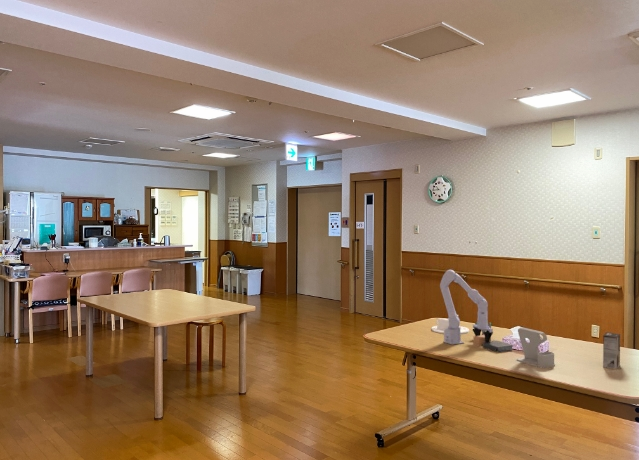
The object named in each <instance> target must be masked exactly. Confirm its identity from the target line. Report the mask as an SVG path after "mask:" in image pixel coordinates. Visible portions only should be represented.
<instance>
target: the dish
mask: <svg viewBox="0 0 639 460" xmlns="http://www.w3.org/2000/svg"><path fill="white" fill-rule="evenodd" d="M457 316H458V317H459V314H457ZM448 326H449V317H448V318H441V317H440V318H436V325H433V326H432V327H431V331H433V332H434V333H438V334H443V335H444V331H445V329H448ZM459 326H460V325H459ZM460 327H461V335H464V334H468V333H470V329H469V327H466V326H462V325H461V326H460Z"/></svg>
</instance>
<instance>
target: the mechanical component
mask: <svg viewBox="0 0 639 460" xmlns="http://www.w3.org/2000/svg"><path fill="white" fill-rule="evenodd" d="M474 324H476V325H478V321H476V322H475V323H474ZM488 326H489V328H492V326H493V323H492V322H488ZM481 332H482V333H481V334H482V335H484V333H483V332H486V331H485V330H481Z"/></svg>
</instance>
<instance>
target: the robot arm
mask: <svg viewBox="0 0 639 460" xmlns="http://www.w3.org/2000/svg"><path fill="white" fill-rule="evenodd" d="M452 282H453V283H456V284H458V285H459V286H460V287H461V288H463V290H465V291H466V293H467V296H468V298H470V300H471V301H472V302H473V303H474V304H476V306H477V322H478V325H476V324H475V323H474V324H472V333H474V336H480V335H481V334H482V333H481V332H482V330H485V332H483V333H484V335H485V342H489V341H490V338H491V339H492V336H493V334H494V330H493V328H492V327H491V328H489V326H488V325H489V322H488V319H489V318H488V315H489V313H488V312H489V311H488V307H489V306H488V301H487V300H486V298H485V297H484V296H482V295H481V294H480V293H479V290H477V289H475V288H471V286H470V285H469V284H468V283H467V282H466V281H465V280H464V279H463V278H462V276H461V275H460V274H458V273H456V272H455V270H453V269H447V270H446V271H445V272H444V274H443V275H442V278H441V280H440V282H439V283H440V284H439V288H440V291H441V295H442V298H443V301H444V304H445V308H446V312H447V315H448V318H449V326H448V329H445V331H444V334H443V338H444V339H443V343H445V344H449V345H458V344H464V343H465V342H464V341H461V339H462V338H461V337H462V336H461V335H462V334H461V327H460V324H461V319H460V317H459V315H458V314H457V311H456V309H455V305H454V302H453V299H452V295H451V291H450V288H449V286H450V284H451V283H452ZM457 315H458V316H457Z"/></svg>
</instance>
